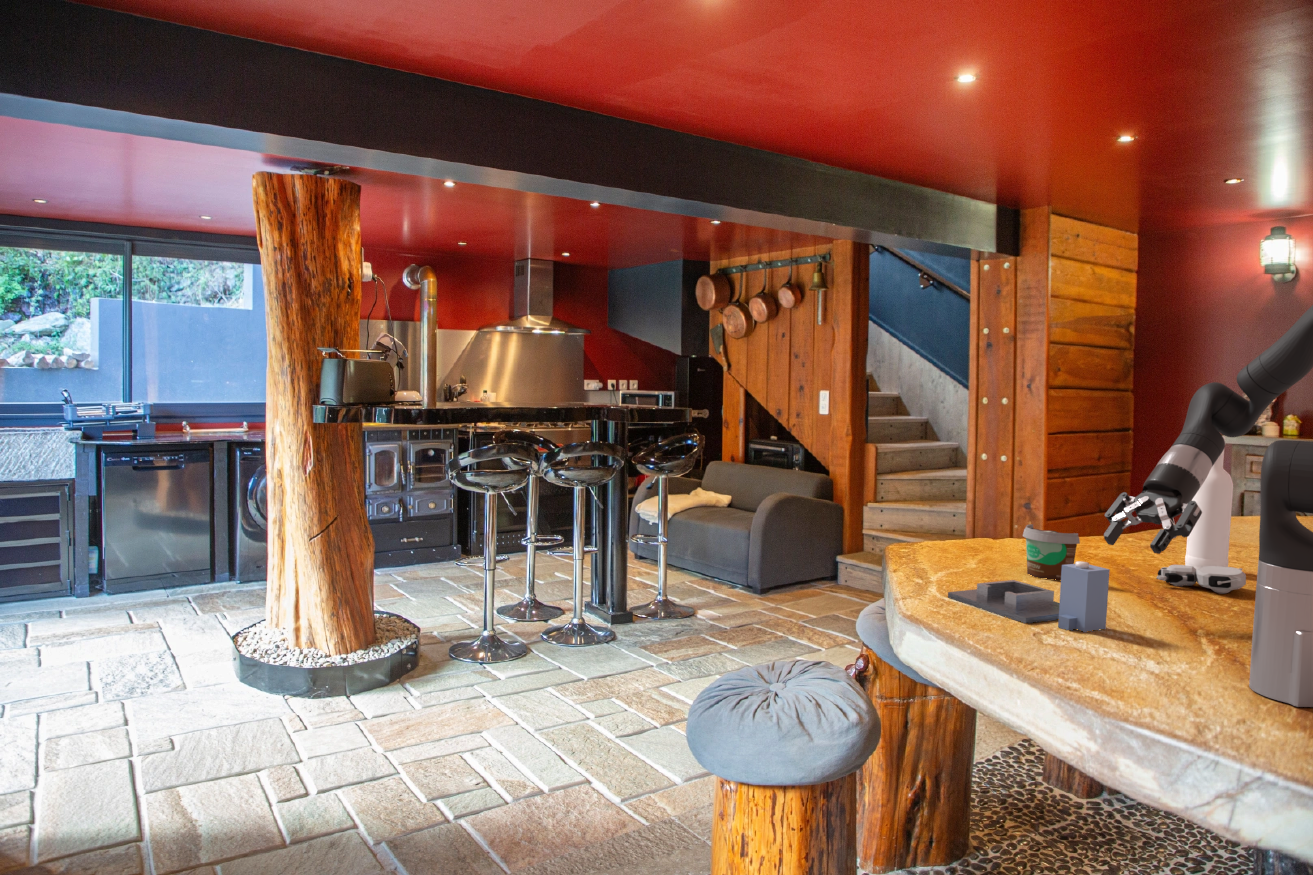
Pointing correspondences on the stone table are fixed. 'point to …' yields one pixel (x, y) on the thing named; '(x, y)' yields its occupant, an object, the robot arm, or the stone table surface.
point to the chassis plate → (1012, 600)
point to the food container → (1049, 551)
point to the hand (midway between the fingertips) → (1130, 546)
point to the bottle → (1212, 520)
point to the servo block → (1083, 597)
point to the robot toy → (1204, 577)
